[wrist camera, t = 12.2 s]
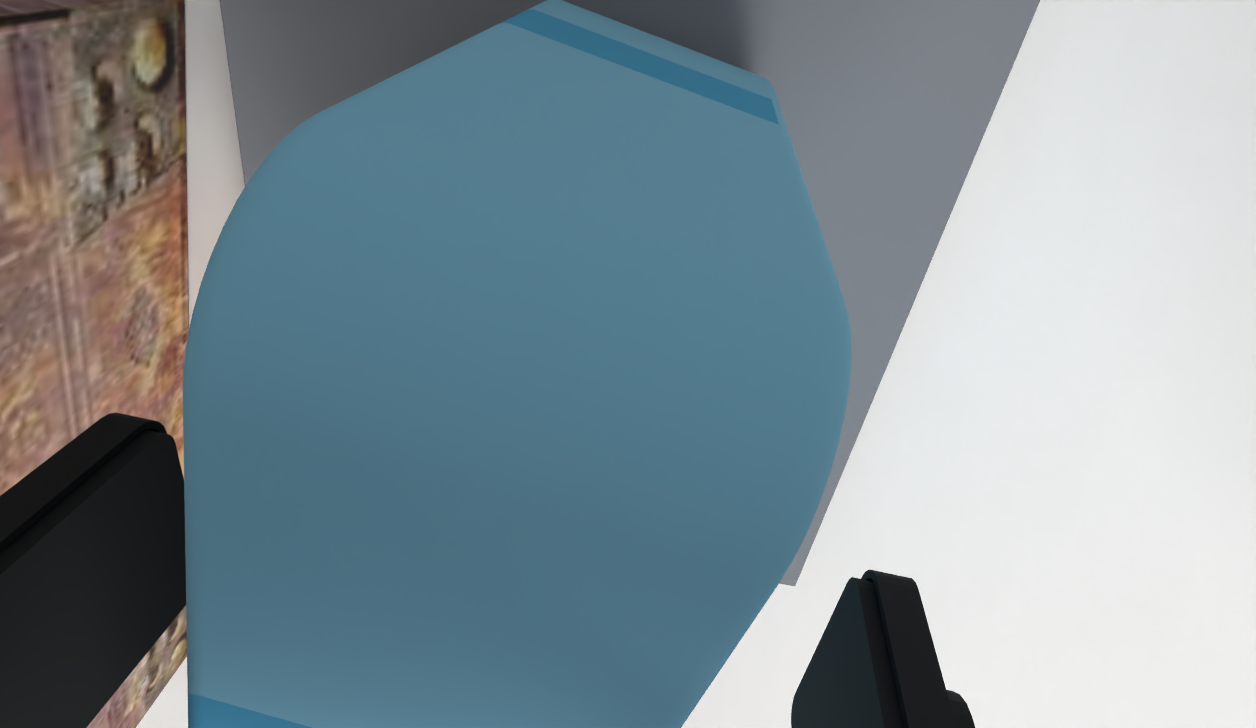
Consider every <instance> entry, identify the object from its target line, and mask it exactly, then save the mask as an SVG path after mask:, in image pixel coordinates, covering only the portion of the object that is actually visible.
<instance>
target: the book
mask: <svg viewBox="0 0 1256 728" xmlns="http://www.w3.org/2000/svg"><path fill="white" fill-rule="evenodd" d="M188 334H189V310H188V241H187V172H186V103H185V34H184V0H0V496H1V495H2V494H3V493H5V492H6V491H7V490H8V489H10V488H11V487H12V486H14V485H15V484H16V483H18V482H19V481H20V480H21V479H23V478H24V477H25V476H27V475H28V474H29V473H30V472H32V471H33V470H34V469H36V468H37V467H38V466H40V465H41V464H42V463H43V462H45V461H46V460H47V459H49V458H50V457H51V456H53V455H54V454H55V453H56V452H58V451H59V450H60V449H62V448H63V447H64V446H65V445H67V444H68V443H69V442H71V441H72V440H73V439H75V438H76V437H77V436H78V435H80V434H81V433H82V432H84V431H85V430H86V429H87V428H89V427H90V426H91V425H93V424H94V423H95V422H97V421H98V420H99V419H100V418H102V417H104V416H106V415H107V414H110V413H115V412H116V413H121V414H126V415H131V416H136V417H140V418H145V419H150V420H155V421H159V422H160V423H161V424H162V425H164V427H165V429H166V432H167V434H169V435H171V436H172V437H173V438H174V440H175V443H176V447H177V452H178V456H179V461H180V465H181V469H182V474H183V478H184V442H183V369H184V360H185V352H186V344H187V338H188ZM186 657H187V615H186V606H185V607H184V608H183V610H182V611H181V612H180V613H179V614H178V616H177V617H176V618H175V619H174V621H173V622H172V623H171V624H170V626H169V627H168V628H167V629H166V630H165V632H164V633H163V634H162V635H161V637H160V638H159V639H158V640H157V642H156V643H155V644H154V645H153V646H152V648H151V649H150V650H149V651H148V653H147V654H146V655H145V656H144V658H143V659H142V660H141V661H140V662H139V664H138V665H137V666H136V667H135V669H134V670H133V671H132V672H131V674H130V675H129V676H128V677H127V679H126V680H125V681H124V682H123V683H122V685H121V686H120V687H119V688H118V690H117V691H116V692H115V693H114V695H113V696H112V697H111V698H110V699H109V701H108V702H107V703H106V704H105V706H104V707H103V708H102V709H101V711H100V712H99V713H98V714H97V715H96V717H95V718H94V719H93V720H92V722H91V723H90V724H89V725H88V727H87V728H136V726H137V725H138V724H139V722H140V721H141V719H142V718H143V717H144V715H145V714H146V712H147V711H148V710H149V708H150V707H151V705H152V704H153V703H154V701H155V700H156V698H157V697H158V696H159V694H160V693H161V691H162V690H163V689H164V687H165V686H166V684H167V683H168V682H169V680H170V679H171V677H172V676H173V675H174V673H175V672H176V670H177V669H178V668H179V666H180V665H181V663H182V662H183V661H184V659H185V658H186Z"/></svg>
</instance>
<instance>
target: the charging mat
mask: <svg viewBox="0 0 1256 728" xmlns="http://www.w3.org/2000/svg"><path fill="white" fill-rule="evenodd" d="M544 1H546V0H220V6H221V13H222V21H223V28H224V35H225V43H226V50H227V57H228V65H229V72H230V79H231V87H232V94H233V101H234V108H235V116H236V123H237V130H238V138H239V145H240V152H241V160H242V167H243V174H244V182H245V187H246V185H247V184H248V182H249V180H250V179H251V177H252V176H253V174H254V173H255V172H256V170H257V169H258V168H259V166H260V165H261V164H262V162H263V161H264V160H265V158H266V157H267V156H268V155H269V154H270V152H271V151H272V150H273V149H274V148H275V147H276V146H277V145H278V144H279V142H280V141H281V140H282V139H283V138H284V137H285V136H286V135H288V134H289V133H290V132H291V131H292V130H293V129H295V128H296V127H297V126H298V125H299V124H301V123H302V122H304V121H306V120H307V119H309V118H310V117H312V116H314V115H315V114H317V113H319V112H321V111H323V110H325V109H327V108H329V107H331V106H333V105H335V104H337V103H339V102H341V101H343V100H345V99H347V98H349V97H351V96H354V95H356V94H358V93H360V92H362V91H364V90H366V89H368V88H370V87H372V86H374V85H376V84H378V83H380V82H382V81H384V80H386V79H388V78H390V77H392V76H394V75H396V74H398V73H400V72H402V71H404V70H406V69H408V68H410V67H412V66H414V65H416V64H418V63H420V62H422V61H424V60H426V59H428V58H430V57H432V56H435V55H437V54H439V53H441V52H443V51H445V50H447V49H449V48H451V47H453V46H455V45H457V44H459V43H461V42H463V41H465V40H467V39H469V38H471V37H473V36H475V35H477V34H479V33H481V32H483V31H485V30H487V29H489V28H491V27H493V26H495V25H497V24H499V23H501V22H503V21H505V20H507V19H509V18H511V17H513V16H516V15H518V14H520V13H522V12H524V11H526V10H528V9H530V8H532V7H534V6H536V5H538V4H540V3H542V2H544ZM563 1H565V2H568V3H570V4H573V5H576V6H578V7H581V8H584V9H586V10H589V11H591V12H594V13H597V14H599V15H602V16H605V17H607V18H610V19H612V20H615V21H618V22H620V23H623V24H626V25H628V26H631V27H633V28H636V29H639V30H641V31H644V32H646V33H649V34H652V35H654V36H657V37H660V38H662V39H665V40H667V41H670V42H673V43H675V44H678V45H681V46H683V47H686V48H688V49H691V50H694V51H696V52H699V53H702V54H704V55H707V56H709V57H712V58H715V59H717V60H720V61H723V62H725V63H728V64H730V65H733V66H736V67H738V68H741V69H744V70H746V71H749V72H751V73H754V74H757V75H759V76H762V77H764V78H767V79H768V80H769V81H770V82H771V83H772V85H773V87H774V89H775V92H776V95H777V98H778V101H779V104H780V107H781V110H782V113H783V116H784V119H785V122H786V125H787V129H788V132H789V135H790V138H791V141H792V144H793V147H794V150H795V153H796V156H797V159H798V162H799V165H800V168H801V171H802V174H803V177H804V180H805V183H806V186H807V189H808V192H809V195H810V198H811V201H812V204H813V207H814V210H815V213H816V216H817V219H818V222H819V225H820V228H821V231H822V234H823V237H824V240H825V243H826V246H827V249H828V252H829V255H830V258H831V261H832V264H833V267H834V270H835V273H836V277H837V280H838V283H839V286H840V289H841V292H842V295H843V298H844V301H845V304H846V307H847V311H848V316H849V320H850V328H851V338H852V365H851V376H850V387H849V394H848V401H847V407H846V413H845V418H844V422H843V427H842V432H841V436H840V440H839V444H838V448H837V451H836V455H835V459H834V462H833V466H832V469H831V472H830V475H829V478H828V481H827V484H826V487H825V490H824V493H823V495H822V498H821V501H820V503H819V506H818V508H817V511H816V513H815V516H814V518H813V520H812V523H811V525H810V527H809V529H808V532H807V534H806V536H805V538H804V540H803V542H802V544H801V546H800V548H799V550H798V552H797V554H796V556H795V557H794V559H793V561H792V563H791V565H790V566H789V568H788V569H787V571H786V573H785V574H784V576H783V577H782V579H781V581H780V582H779V583H780V584H785V585H791V586H795V585H796V582H797V580H798V577H799V575H800V573H801V570H802V568H803V566H804V563H805V561H806V558H807V556H808V554H809V551H810V549H811V546H812V544H813V542H814V539H815V537H816V534H817V532H818V530H819V527H820V525H821V523H822V520H823V518H824V515H825V513H826V511H827V508H828V506H829V503H830V501H831V499H832V496H833V494H834V491H835V489H836V487H837V484H838V482H839V480H840V477H841V475H842V472H843V470H844V468H845V465H846V463H847V460H848V458H849V456H850V453H851V451H852V448H853V446H854V444H855V441H856V439H857V437H858V434H859V432H860V429H861V427H862V425H863V422H864V420H865V417H866V415H867V413H868V410H869V408H870V405H871V403H872V401H873V398H874V396H875V394H876V391H877V389H878V386H879V384H880V382H881V379H882V377H883V374H884V372H885V370H886V367H887V365H888V362H889V360H890V358H891V355H892V353H893V351H894V348H895V346H896V343H897V341H898V339H899V336H900V334H901V331H902V329H903V327H904V324H905V322H906V319H907V317H908V315H909V312H910V310H911V308H912V305H913V303H914V300H915V298H916V296H917V293H918V291H919V288H920V286H921V284H922V281H923V279H924V276H925V274H926V272H927V269H928V267H929V264H930V262H931V260H932V257H933V255H934V253H935V250H936V248H937V245H938V243H939V241H940V238H941V236H942V233H943V231H944V229H945V226H946V224H947V221H948V219H949V217H950V214H951V212H952V210H953V207H954V205H955V202H956V200H957V198H958V195H959V193H960V190H961V188H962V186H963V183H964V181H965V178H966V176H967V174H968V171H969V169H970V167H971V164H972V162H973V159H974V157H975V155H976V152H977V150H978V147H979V145H980V143H981V140H982V138H983V135H984V133H985V131H986V128H987V126H988V124H989V121H990V119H991V116H992V114H993V112H994V109H995V107H996V104H997V102H998V100H999V97H1000V95H1001V92H1002V90H1003V88H1004V85H1005V83H1006V81H1007V78H1008V76H1009V73H1010V71H1011V69H1012V66H1013V64H1014V61H1015V59H1016V57H1017V54H1018V52H1019V49H1020V47H1021V45H1022V42H1023V40H1024V38H1025V35H1026V33H1027V30H1028V28H1029V26H1030V23H1031V21H1032V18H1033V16H1034V14H1035V11H1036V9H1037V6H1038V4H1039V2H1040V0H563Z"/></svg>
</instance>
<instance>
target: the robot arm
mask: <svg viewBox="0 0 1256 728" xmlns="http://www.w3.org/2000/svg"><path fill="white" fill-rule="evenodd" d="M185 606H186V557H185V500H184V478H183V474H182V469H181V465H180V461H179V456H178V452H177V447H176V443H175V440H174V438H173V437H172V436H171V435H169V434H167V432H166V429H165V427H164V425H162V424H161V423H160V422H159V421H155V420H150V419H145V418H140V417H136V416H131V415H126V414H121V413H116V412H115V413H110V414H107V415H106V416H104V417H102V418H100V419H99V420H98V421H97V422H95V423H94V424H93V425H91V426H90V427H89V428H87V429H86V430H85V431H84V432H82V433H81V434H80V435H78V436H77V437H76V438H75V439H73V440H72V441H71V442H69V443H68V444H67V445H65V446H64V447H63V448H62V449H60V450H59V451H58V452H56V453H55V454H54V455H53V456H51V457H50V458H49V459H47V460H46V461H45V462H43V463H42V464H41V465H40V466H38V467H37V468H36V469H34V470H33V471H32V472H30V473H29V474H28V475H27V476H25V477H24V478H23V479H21V480H20V481H19V482H18V483H16V484H15V485H14V486H12V487H11V488H10V489H8V490H7V491H6V492H5V493H3V494H2V495H1V496H0V728H87V727H88V725H89V724H90V723H91V722H92V720H93V719H94V718H95V717H96V715H97V714H98V713H99V712H100V711H101V709H102V708H103V707H104V706H105V704H106V703H107V702H108V701H109V699H110V698H111V697H112V696H113V695H114V693H115V692H116V691H117V690H118V688H119V687H120V686H121V685H122V683H123V682H124V681H125V680H126V679H127V677H128V676H129V675H130V674H131V672H132V671H133V670H134V669H135V667H136V666H137V665H138V664H139V662H140V661H141V660H142V659H143V658H144V656H145V655H146V654H147V653H148V651H149V650H150V649H151V648H152V646H153V645H154V644H155V643H156V642H157V640H158V639H159V638H160V637H161V635H162V634H163V633H164V632H165V630H166V629H167V628H168V627H169V626H170V624H171V623H172V622H173V621H174V619H175V618H176V617H177V616H178V614H179V613H180V612H181V611H182V610H183V608H184V607H185ZM791 725H792V728H975V726H974V722H973V719H972V716H971V713H970V711H969V708H968V706H967V703H966V702H965V701H964V699H963V698H962V697H961V696H960V694H957V693H955V692H953V691H949V690H946V688H945V684H944V681H943V677H942V673H941V670H940V666H939V663H938V659H937V655H936V652H935V648H934V644H933V641H932V637H931V633H930V630H929V626H928V623H927V619H926V615H925V612H924V608H923V604H922V601H921V597H920V594H919V590H918V587H917V585H916V582H915V581H914V580H913V579H912V578H907V577H902V576H897V575H893V574H888V573H883V572H878V571H874V570H868V571H866V572H865V573H864V575H863V576H862V578H861V579H858V578H853V577H852V578H850V579H849V581H848V582H847V584H846V586H845V589H844V591H843V593H842V595H841V597H840V599H839V601H838V604H837V606H836V608H835V610H834V612H833V614H832V616H831V618H830V621H829V623H828V625H827V627H826V629H825V631H824V633H823V636H822V638H821V640H820V642H819V644H818V646H817V648H816V650H815V653H814V655H813V657H812V659H811V661H810V663H809V665H808V667H807V670H806V672H805V674H804V676H803V678H802V680H801V682H800V685H799V687H798V689H797V691H796V693H795V696H794V700H793V704H792V713H791Z"/></svg>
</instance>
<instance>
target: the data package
mask: <svg viewBox="0 0 1256 728" xmlns="http://www.w3.org/2000/svg"><path fill="white" fill-rule="evenodd" d="M851 365H852V338H851V328H850V320H849V316H848V311H847V307H846V304H845V301H844V298H843V295H842V292H841V289H840V286H839V283H838V280H837V277H836V273H835V270H834V267H833V264H832V261H831V258H830V255H829V252H828V249H827V246H826V243H825V240H824V237H823V234H822V231H821V228H820V225H819V222H818V219H817V216H816V213H815V210H814V207H813V204H812V201H811V198H810V195H809V192H808V189H807V186H806V183H805V180H804V177H803V174H802V171H801V168H800V165H799V162H798V159H797V156H796V153H795V150H794V147H793V144H792V141H791V138H790V135H789V132H788V129H787V125H786V122H785V119H784V116H783V113H782V110H781V107H780V104H779V101H778V98H777V95H776V92H775V89H774V87H773V85H772V83H771V82H770V81H769V80H768V79H767V78H764V77H762V76H759V75H757V74H754V73H751V72H749V71H746V70H744V69H741V68H738V67H736V66H733V65H730V64H728V63H725V62H723V61H720V60H717V59H715V58H712V57H709V56H707V55H704V54H702V53H699V52H696V51H694V50H691V49H688V48H686V47H683V46H681V45H678V44H675V43H673V42H670V41H667V40H665V39H662V38H660V37H657V36H654V35H652V34H649V33H646V32H644V31H641V30H639V29H636V28H633V27H631V26H628V25H626V24H623V23H620V22H618V21H615V20H612V19H610V18H607V17H605V16H602V15H599V14H597V13H594V12H591V11H589V10H586V9H584V8H581V7H578V6H576V5H573V4H570V3H568V2H565V1H563V0H546V1H544V2H542V3H540V4H538V5H536V6H534V7H532V8H530V9H528V10H526V11H524V12H522V13H520V14H518V15H516V16H513V17H511V18H509V19H507V20H505V21H503V22H501V23H499V24H497V25H495V26H493V27H491V28H489V29H487V30H485V31H483V32H481V33H479V34H477V35H475V36H473V37H471V38H469V39H467V40H465V41H463V42H461V43H459V44H457V45H455V46H453V47H451V48H449V49H447V50H445V51H443V52H441V53H439V54H437V55H435V56H432V57H430V58H428V59H426V60H424V61H422V62H420V63H418V64H416V65H414V66H412V67H410V68H408V69H406V70H404V71H402V72H400V73H398V74H396V75H394V76H392V77H390V78H388V79H386V80H384V81H382V82H380V83H378V84H376V85H374V86H372V87H370V88H368V89H366V90H364V91H362V92H360V93H358V94H356V95H354V96H351V97H349V98H347V99H345V100H343V101H341V102H339V103H337V104H335V105H333V106H331V107H329V108H327V109H325V110H323V111H321V112H319V113H317V114H315V115H314V116H312V117H310V118H309V119H307V120H306V121H304V122H302V123H301V124H299V125H298V126H297V127H296V128H295V129H293V130H292V131H291V132H290V133H289V134H288V135H286V136H285V137H284V138H283V139H282V140H281V141H280V142H279V144H278V145H277V146H276V147H275V148H274V149H273V150H272V151H271V152H270V154H269V155H268V156H267V157H266V158H265V160H264V161H263V162H262V164H261V165H260V166H259V168H258V169H257V170H256V172H255V173H254V174H253V176H252V177H251V179H250V180H249V182H248V184H247V185H246V187H245V188H244V190H243V192H242V193H241V195H240V197H239V198H238V200H237V202H236V204H235V205H234V207H233V209H232V211H231V213H230V215H229V217H228V219H227V221H226V223H225V225H224V227H223V229H222V231H221V234H220V236H219V238H218V241H217V243H216V245H215V247H214V250H213V252H212V254H211V257H210V260H209V263H208V265H207V268H206V271H205V274H204V277H203V280H202V282H201V286H200V289H199V293H198V296H197V300H196V303H195V307H194V310H193V314H192V319H191V324H190V329H189V334H188V338H187V344H186V352H185V360H184V369H183V442H184V500H185V557H186V615H187V673H188V728H681V727H682V725H683V724H684V722H685V721H686V719H687V718H688V716H689V715H690V713H691V712H692V711H693V709H694V708H695V706H696V705H697V703H698V702H699V700H700V699H701V697H702V696H703V694H704V693H705V691H706V690H707V688H708V687H709V685H710V684H711V683H712V681H713V680H714V678H715V677H716V675H717V674H718V672H719V671H720V669H721V668H722V666H723V665H724V663H725V662H726V660H727V659H728V658H729V656H730V655H731V653H732V652H733V650H734V649H735V647H736V646H737V644H738V643H739V641H740V640H741V638H742V637H743V635H744V634H745V632H746V631H747V630H748V628H749V627H750V625H751V624H752V622H753V621H754V619H755V618H756V616H757V615H758V613H759V612H760V610H761V609H762V607H763V606H764V604H765V603H766V602H767V600H768V599H769V597H770V596H771V594H772V593H773V591H774V590H775V588H776V587H777V585H778V584H779V582H780V581H781V579H782V577H783V576H784V574H785V573H786V571H787V569H788V568H789V566H790V565H791V563H792V561H793V559H794V557H795V556H796V554H797V552H798V550H799V548H800V546H801V544H802V542H803V540H804V538H805V536H806V534H807V532H808V529H809V527H810V525H811V523H812V520H813V518H814V516H815V513H816V511H817V508H818V506H819V503H820V501H821V498H822V495H823V493H824V490H825V487H826V484H827V481H828V478H829V475H830V472H831V469H832V466H833V462H834V459H835V455H836V451H837V448H838V444H839V440H840V436H841V432H842V427H843V422H844V418H845V413H846V407H847V401H848V394H849V387H850V376H851Z"/></svg>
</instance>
